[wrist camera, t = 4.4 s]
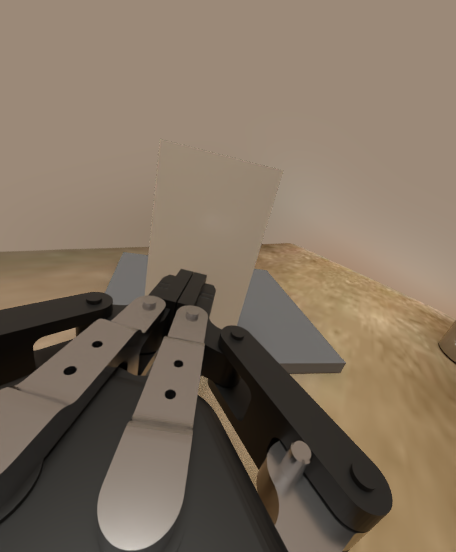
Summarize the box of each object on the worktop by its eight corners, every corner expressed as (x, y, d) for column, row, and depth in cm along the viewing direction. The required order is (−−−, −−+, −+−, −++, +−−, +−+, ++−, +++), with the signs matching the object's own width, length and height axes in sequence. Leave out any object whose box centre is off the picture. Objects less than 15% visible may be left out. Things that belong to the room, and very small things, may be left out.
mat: (264, 276, 39) (266, 270, 39) (340, 372, 22) (345, 363, 22) (123, 260, 33) (123, 252, 32) (72, 377, 15) (72, 364, 15)
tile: (226, 359, 19) (283, 170, 13) (140, 338, 18) (160, 138, 13) (228, 340, 21) (278, 171, 15) (151, 322, 20) (172, 143, 15)
